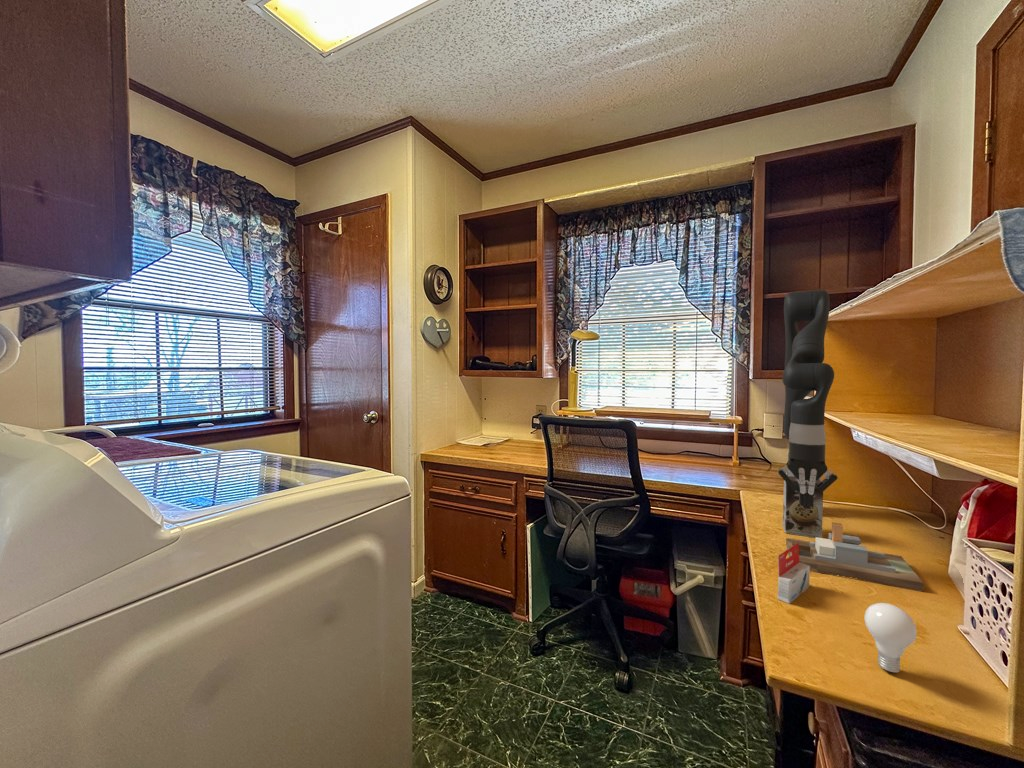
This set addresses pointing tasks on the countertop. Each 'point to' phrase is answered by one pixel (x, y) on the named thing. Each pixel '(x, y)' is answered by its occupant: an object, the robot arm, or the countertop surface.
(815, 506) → the coffee box
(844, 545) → the tunnel
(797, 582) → the ink cartridge box
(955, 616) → the countertop surface
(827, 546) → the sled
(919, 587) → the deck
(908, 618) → the lightbulb
